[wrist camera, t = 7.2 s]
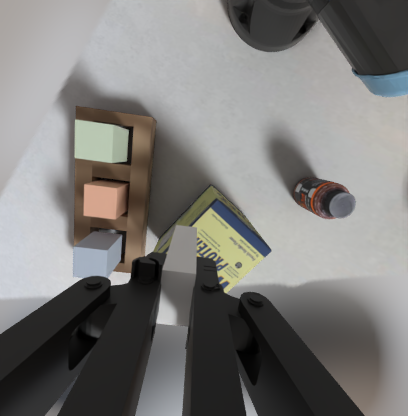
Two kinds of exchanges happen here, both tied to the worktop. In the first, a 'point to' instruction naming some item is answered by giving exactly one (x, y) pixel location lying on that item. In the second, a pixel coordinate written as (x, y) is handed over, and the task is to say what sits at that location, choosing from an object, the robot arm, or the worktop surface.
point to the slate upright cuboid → (97, 255)
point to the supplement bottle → (324, 198)
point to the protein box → (221, 237)
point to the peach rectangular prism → (106, 198)
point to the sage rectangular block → (100, 142)
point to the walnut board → (134, 172)
